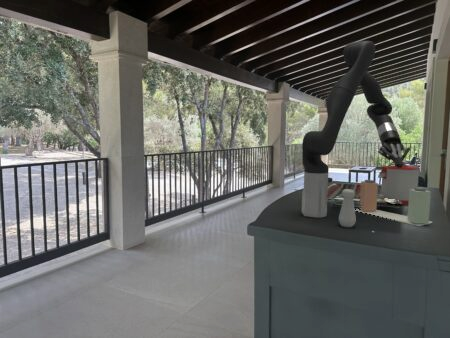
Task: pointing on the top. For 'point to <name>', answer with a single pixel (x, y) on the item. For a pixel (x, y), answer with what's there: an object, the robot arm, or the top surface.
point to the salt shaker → (347, 209)
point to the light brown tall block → (368, 195)
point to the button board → (391, 216)
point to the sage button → (419, 205)
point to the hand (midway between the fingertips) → (400, 166)
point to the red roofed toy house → (399, 182)
